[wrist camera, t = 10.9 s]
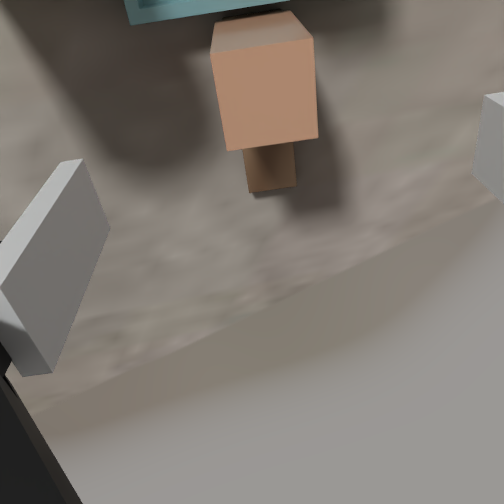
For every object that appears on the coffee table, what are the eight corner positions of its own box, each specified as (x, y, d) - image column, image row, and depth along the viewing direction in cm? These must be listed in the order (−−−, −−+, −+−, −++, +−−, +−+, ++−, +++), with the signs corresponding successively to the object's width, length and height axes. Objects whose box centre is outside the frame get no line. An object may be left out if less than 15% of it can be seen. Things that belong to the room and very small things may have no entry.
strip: (248, 186, 38) (249, 192, 37) (222, 17, 30) (222, 20, 29) (295, 179, 38) (296, 186, 37) (280, 8, 30) (282, 10, 29)
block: (227, 97, 32) (227, 151, 24) (215, 21, 29) (209, 53, 21) (295, 87, 32) (318, 137, 24) (289, 9, 29) (313, 37, 21)
